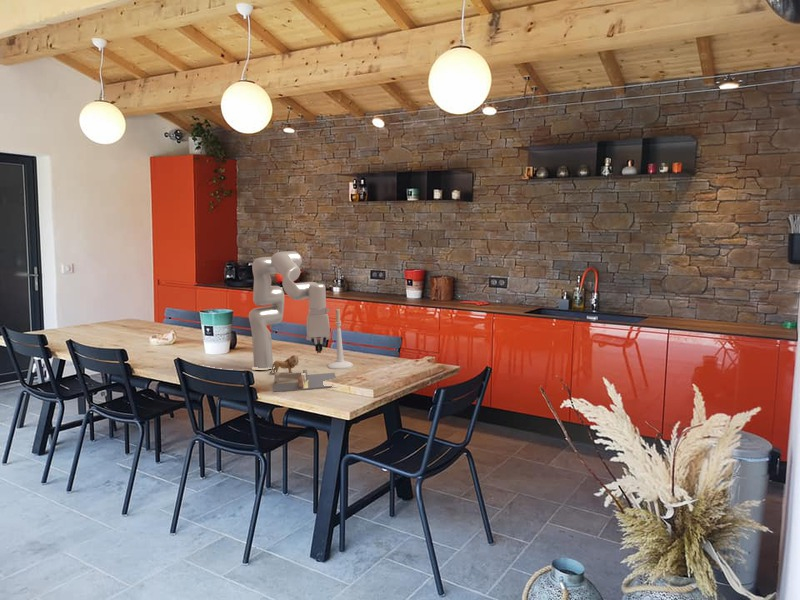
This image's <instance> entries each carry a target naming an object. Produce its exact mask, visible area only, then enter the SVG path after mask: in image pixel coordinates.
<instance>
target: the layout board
mask: <svg viewBox="0 0 800 600" xmlns="http://www.w3.org/2000/svg"><path fill="white" fill-rule="evenodd" d="M302 375H303V374H301V376H302ZM307 376H308V381H306V382H305V383H304V385H303V388H299V387H298V382H286V383H275V382H274V384H273V389H272V392H273V393H281V392H282V393H284V392H295V391H306V390H307V391H308V390H309V391H310V390H319V389H320V390H321V389H332V388H331V387H332V386H324V385H323V381H325V380H329V379H333V378H336V374H335V372H328V373H327V372H326V373H313V374H307ZM336 379H337V378H336Z"/></svg>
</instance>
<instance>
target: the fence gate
mask: <svg viewBox="0 0 800 600" xmlns="http://www.w3.org/2000/svg"><path fill="white" fill-rule="evenodd" d="M301 375H302V376H301V377H298V387H299V388H303V385H304V383H305V382H306V373H303V372H302V374H301Z"/></svg>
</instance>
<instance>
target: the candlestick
mask: <svg viewBox="0 0 800 600" xmlns="http://www.w3.org/2000/svg"><path fill="white" fill-rule="evenodd" d="M335 316H336V317H335V319H336V321H335V322H334V324H335V326H336V328H337V329H336V360H335V361H333V362H331V363H329V364H328V365H327V367H328V369H331V370H346V369H350V368H353V367H354V364H353V363H352V362H350V361H348V360H345V358H344V357H345V356H344V351H343V350H344V348H343V341H342V340H343V339H342V329H341V327H342V321H341V309H340V308H336V309H335Z"/></svg>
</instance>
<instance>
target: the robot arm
mask: <svg viewBox="0 0 800 600" xmlns="http://www.w3.org/2000/svg"><path fill="white" fill-rule="evenodd" d="M302 262H303V259H302V255H301V254H300V253H298V252H297V251H295V250H291V251H288V250H287V251H278V252H275V253H273V254H272V255H271V256H262V257H257V258H255V259H254V260H253V262H252V265H251V266H252V267H251V268H252V275H253V289H252V290H253V292H252V301H253V303H254V304H255V306H258V307H255V308H252V309H251V310H250V311H249V312H248V321H249V325H250V330H251V339H252V355H253V366H254V367H258V368H268V367H269V368H272V366H273V363H274V360H273V345H272V333H271V331H270V330H269V329H268V327H267V326H270V325H271V326H272V325H277V324H280V323H281V322H282V321H283V318H284V309H285V293H286V295H287V296H288V298H290V299H292V300H294V301H301V300H308V314H307V315H306V316H307V317H306V338H305V339H306V340H307V341H309V342H310V341H311V342H312V343H313V344H314V345H315V347H314V348H315V352H316V353H317V354H322V351H323V344H324V343H325V342H326V341H327V340H331V328H330V327H331V326H330V325H331V324H330V319H329V312H330V308H327V295H326V285H325V284H324V283H318V282H316V281H305V282H295V281H296V280H297V279H299V277H300V275H301V269H300V267H301V266H302ZM275 274H277V275H278V274H279V275H280V276H281V277H282V283H281V284H282V287H283V288H282V287H281V286H279V285H272V277H271V275H275ZM317 338H319V341H318V339H317ZM274 367H275V365H274Z"/></svg>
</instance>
